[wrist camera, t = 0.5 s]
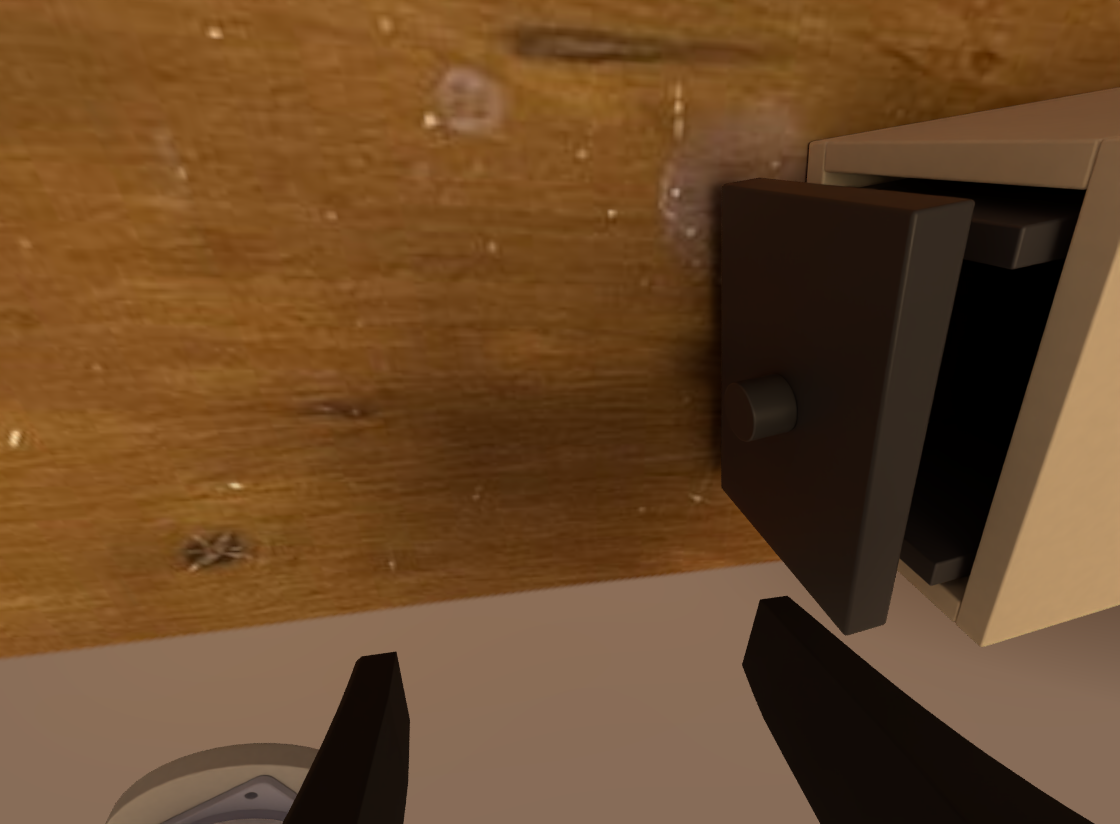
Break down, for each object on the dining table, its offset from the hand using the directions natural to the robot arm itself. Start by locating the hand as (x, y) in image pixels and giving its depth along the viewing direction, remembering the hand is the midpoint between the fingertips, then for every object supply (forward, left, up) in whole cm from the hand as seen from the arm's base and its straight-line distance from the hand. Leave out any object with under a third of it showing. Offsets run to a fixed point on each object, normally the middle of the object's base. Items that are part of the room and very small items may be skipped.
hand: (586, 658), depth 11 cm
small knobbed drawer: (+15, -2, -8) cm, 17 cm away
